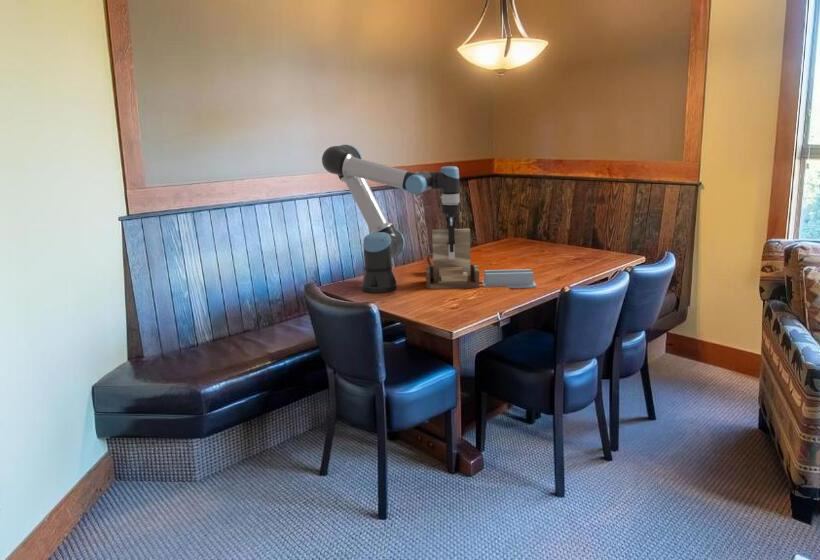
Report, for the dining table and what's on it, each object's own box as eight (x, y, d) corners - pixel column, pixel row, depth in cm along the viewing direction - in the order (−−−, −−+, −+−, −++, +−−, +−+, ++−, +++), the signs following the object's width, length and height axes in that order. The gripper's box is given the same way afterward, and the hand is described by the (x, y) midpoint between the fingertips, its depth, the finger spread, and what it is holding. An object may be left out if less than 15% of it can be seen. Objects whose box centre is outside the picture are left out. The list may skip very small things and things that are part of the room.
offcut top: (438, 273, 262) (438, 267, 261) (462, 272, 262) (462, 266, 261) (439, 275, 257) (439, 270, 256) (463, 275, 257) (463, 269, 256)
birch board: (433, 281, 268) (432, 229, 262) (470, 280, 267) (469, 228, 261) (433, 282, 266) (432, 230, 260) (470, 281, 265) (470, 229, 260)
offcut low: (438, 284, 263) (438, 278, 263) (466, 283, 263) (466, 278, 262) (438, 287, 258) (438, 281, 258) (466, 286, 258) (466, 280, 257)
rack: (426, 282, 270) (426, 265, 268) (477, 281, 269) (476, 263, 267) (426, 291, 257) (426, 272, 255) (479, 290, 256) (479, 271, 254)
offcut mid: (441, 278, 262) (441, 272, 262) (466, 277, 262) (466, 272, 261) (441, 281, 258) (441, 275, 257) (467, 280, 257) (467, 275, 257)
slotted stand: (481, 282, 267) (481, 269, 265) (532, 281, 266) (532, 268, 264) (483, 288, 257) (483, 275, 256) (536, 287, 256) (536, 273, 255)
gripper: (441, 201, 267) (442, 253, 273) (441, 206, 250) (443, 262, 255) (458, 200, 267) (459, 253, 272) (460, 206, 249) (461, 262, 255)
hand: (451, 257), depth 264 cm, fingers open, 5 cm apart
